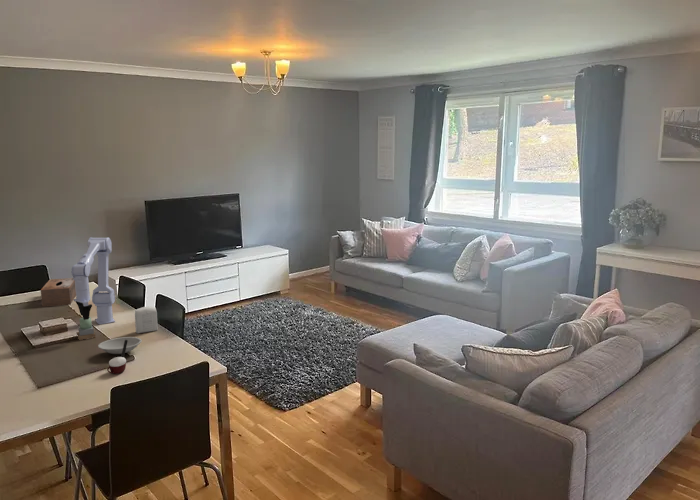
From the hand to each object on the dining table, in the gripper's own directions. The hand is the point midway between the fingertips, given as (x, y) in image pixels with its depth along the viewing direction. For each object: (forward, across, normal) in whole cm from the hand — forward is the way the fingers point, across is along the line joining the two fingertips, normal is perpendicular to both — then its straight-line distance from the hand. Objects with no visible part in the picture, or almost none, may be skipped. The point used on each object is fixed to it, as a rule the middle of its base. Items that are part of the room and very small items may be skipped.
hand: (84, 317), depth 252 cm
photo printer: (+10, +7, +26) cm, 29 cm away
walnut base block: (+10, 0, 0) cm, 10 cm away
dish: (+10, +31, +9) cm, 34 cm away
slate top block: (+8, 0, 0) cm, 8 cm away
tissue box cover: (+10, -78, -2) cm, 79 cm away
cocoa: (+10, +51, +4) cm, 52 cm away
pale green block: (+5, 0, 0) cm, 5 cm away
